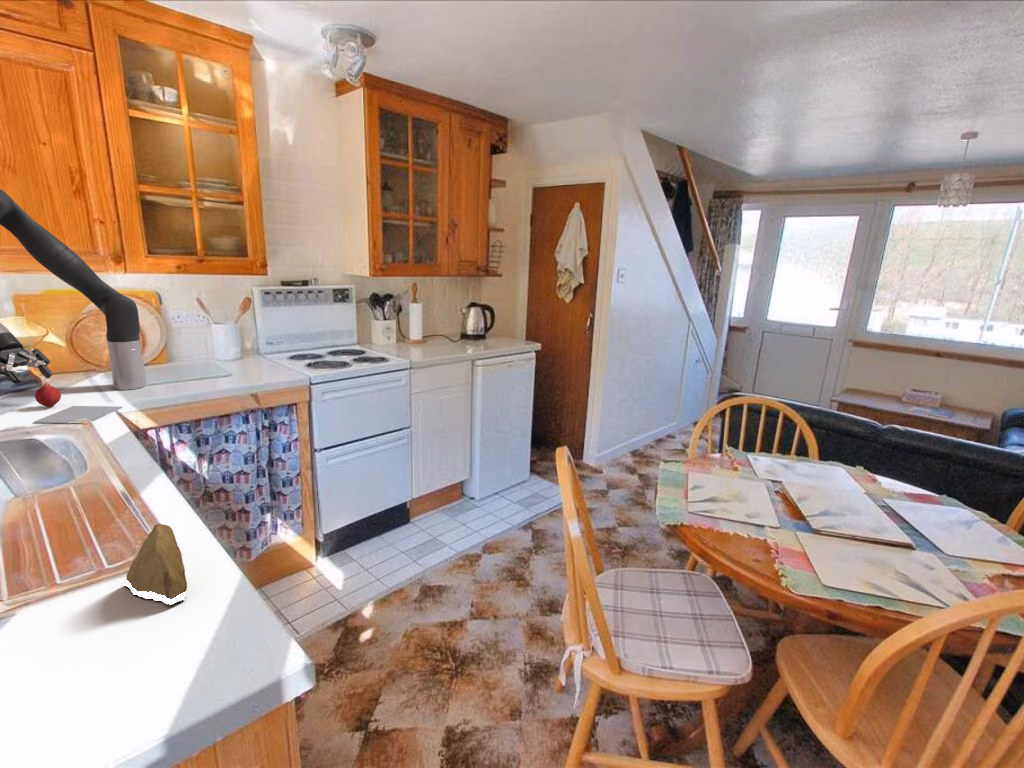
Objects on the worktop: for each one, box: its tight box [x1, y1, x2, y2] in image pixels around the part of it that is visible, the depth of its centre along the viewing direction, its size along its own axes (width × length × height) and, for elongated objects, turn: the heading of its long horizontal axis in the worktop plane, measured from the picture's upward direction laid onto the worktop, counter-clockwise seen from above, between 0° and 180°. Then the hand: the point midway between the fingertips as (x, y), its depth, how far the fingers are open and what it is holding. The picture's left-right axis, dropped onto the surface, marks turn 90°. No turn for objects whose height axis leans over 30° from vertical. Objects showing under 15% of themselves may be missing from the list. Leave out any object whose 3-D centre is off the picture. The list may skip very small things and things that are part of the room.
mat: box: [33, 405, 123, 423], centre depth 149 cm, size 16×14×1 cm
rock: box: [126, 523, 188, 599], centre depth 75 cm, size 11×9×10 cm
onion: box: [34, 382, 62, 409], centre depth 153 cm, size 6×6×8 cm
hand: (35, 379), depth 153 cm, fingers open, 8 cm apart
